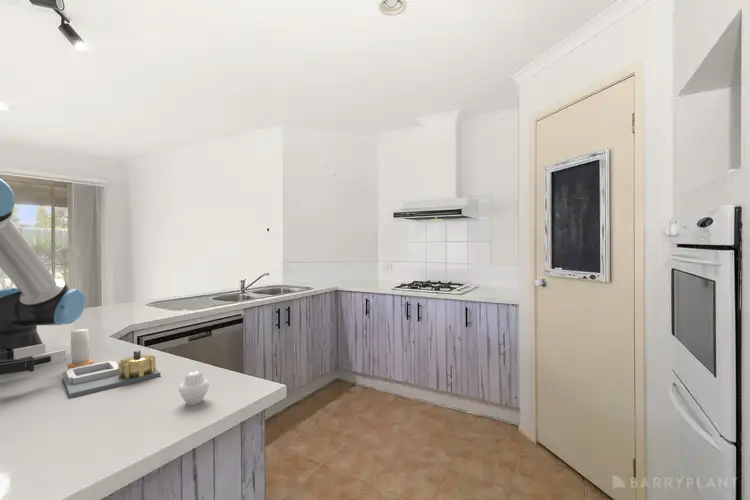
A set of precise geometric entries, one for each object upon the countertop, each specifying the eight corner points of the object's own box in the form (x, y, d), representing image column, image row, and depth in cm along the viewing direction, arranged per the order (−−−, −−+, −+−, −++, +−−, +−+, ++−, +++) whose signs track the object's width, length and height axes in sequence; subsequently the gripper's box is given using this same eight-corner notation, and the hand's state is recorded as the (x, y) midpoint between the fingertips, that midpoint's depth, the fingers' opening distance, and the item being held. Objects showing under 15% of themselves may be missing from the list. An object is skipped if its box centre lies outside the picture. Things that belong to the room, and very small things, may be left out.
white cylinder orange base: (67, 369, 105) (66, 330, 105) (91, 364, 109) (90, 327, 109) (69, 374, 101) (68, 333, 101) (94, 368, 105) (93, 330, 105)
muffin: (173, 408, 78) (172, 376, 77) (189, 396, 84) (188, 366, 84) (200, 408, 77) (199, 376, 77) (214, 396, 83) (214, 366, 83)
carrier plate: (62, 379, 97) (62, 370, 97) (143, 362, 110) (143, 354, 110) (69, 397, 84) (69, 387, 84) (160, 375, 98) (160, 366, 98)
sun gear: (115, 373, 97) (115, 352, 97) (151, 366, 103) (150, 345, 103) (122, 381, 91) (121, 358, 91) (159, 372, 97) (158, 351, 97)
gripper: (-78, 383, 87) (37, 358, 105) (-50, 403, 75) (74, 371, 93) (-79, 352, 87) (36, 333, 105) (-51, 368, 74) (73, 343, 93)
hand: (54, 351), depth 99 cm, fingers open, 13 cm apart
